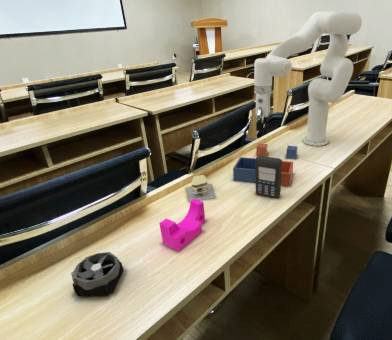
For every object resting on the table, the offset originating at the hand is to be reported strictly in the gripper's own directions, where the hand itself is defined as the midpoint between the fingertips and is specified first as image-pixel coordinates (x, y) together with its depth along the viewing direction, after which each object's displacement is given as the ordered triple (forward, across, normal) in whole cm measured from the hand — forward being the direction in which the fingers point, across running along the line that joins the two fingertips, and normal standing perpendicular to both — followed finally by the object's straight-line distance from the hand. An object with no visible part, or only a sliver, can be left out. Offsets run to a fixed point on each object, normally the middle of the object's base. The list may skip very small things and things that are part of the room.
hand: (262, 127), depth 139 cm
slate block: (+13, +1, -14) cm, 20 cm away
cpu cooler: (+15, -84, +25) cm, 89 cm away
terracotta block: (+14, +1, 0) cm, 14 cm away
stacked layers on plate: (+14, -38, +16) cm, 44 cm away
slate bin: (+14, -21, +1) cm, 25 cm away
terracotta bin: (+14, -21, -11) cm, 28 cm away
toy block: (+15, -61, +11) cm, 64 cm away
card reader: (+14, -34, -9) cm, 38 cm away
